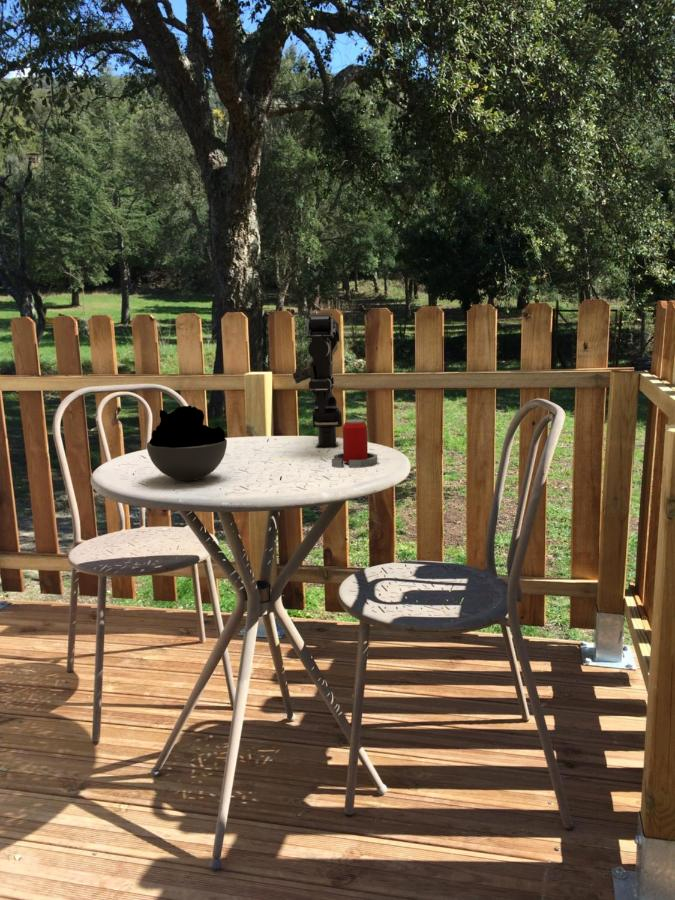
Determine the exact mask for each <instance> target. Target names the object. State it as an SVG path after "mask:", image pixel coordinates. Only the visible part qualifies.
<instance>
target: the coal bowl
mask: <svg viewBox="0 0 675 900" xmlns="http://www.w3.org/2000/svg"><path fill="white" fill-rule="evenodd" d="M159 417H160V422H159V423H158V425H157V426H156V427H155V429H154V430H152V432H151V438H150V440H149V441H148V442H147V443H146V450H147V453H148V456H149V459H150V460H151V462H152V464H153V465H154V467H155V468H157V470H159V472H161V473H162V474H163V475H165V476H167V477H169V478H171V479H174V480H176V481H183V482H189V481H191V482H192V481H197V480H201V479H202V478H203V479H204V478H205V477H206V476H208V475H210V474H212V472H214V471H215V470H216V469H217V468H218V467H219V466H220V464H221V462H222V461H223V459H224V457H225V455H226V454H225V453H226V451H227V446H228V441H227V438H226V435H225V431H224V429H222V427H220V426H216V427H210V426H209V425H207V424H204V421H205V413H204V411H203V410H202V409H200V408H198V407H196V406H192V405H182V406H178V407H177V408H175V409H174V410H172V411H171V412H169V413H168V412H167V411H166V410H162V409H159Z"/></svg>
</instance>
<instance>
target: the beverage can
mask: <svg viewBox="0 0 675 900" xmlns="http://www.w3.org/2000/svg"><path fill="white" fill-rule="evenodd" d="M342 449H343V452H342V453H343V458H344V463H346V464H347V465H349V460H355V459H368V453H369V452H368V426H367V424H366V422H365V419H362V418H361V419H359V418H356V419H355V418H354V419H346V420H344V424H342Z"/></svg>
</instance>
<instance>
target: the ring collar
mask: <svg viewBox="0 0 675 900" xmlns="http://www.w3.org/2000/svg"><path fill="white" fill-rule="evenodd" d="M344 463H345V462H344V458H343V452H342V453H341V452H340V453H338V454H335V455H334V456H333V458H331V467H334V468H341V469H342V468H344V465H345V464H344ZM348 465H349V466H348V467H349V468H366V467H367V468H368V467H372V466H376V465H378V454H376V453H372V452H368V459H355V460H349V464H348Z"/></svg>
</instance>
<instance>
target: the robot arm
mask: <svg viewBox="0 0 675 900" xmlns="http://www.w3.org/2000/svg"><path fill="white" fill-rule="evenodd" d="M340 332H341V331H340V324H339V323H338V321H336V320H335V318H334V315H333V313H331V312H318V313H317V314H316V313H315V314H309V317H308V318H306V334H305V335H306V337H305V338H306V339H311V341H310V342H309V344H308V347H307V351H308V354H309V356H310V357H311V362H310V363H309V366H308V367H305V368H302V367H298V368H296V369H294V371H295V372H293V373H292V378H293V380H294V382H295V384H300V383H302V382H304V381H306V380H308V379H310V381H308V390H309V392H311V393H312V394H313V395H314V396H315V399H314V408H312V411H311V412H312V413H311V414H312V424H313V425H312V426H313V427H312V428H314V429H315V428H317V434H318V435H317V436H318V437H317V439H318V440H317V441H318V442H317V444H316V448H331V447H333V448H335V447H336V448H337V447H338V445H339V442H337V428H340V427H343V415H342V414H343V413H342V411H341V410H340V407H338V401H337V399H336V397H335V396H334V395H333V394H334V393H333V391H334V384H335V376H334V355H335V353H336V352H337V351H338V349H339V343H340V341H341V333H340Z"/></svg>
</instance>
